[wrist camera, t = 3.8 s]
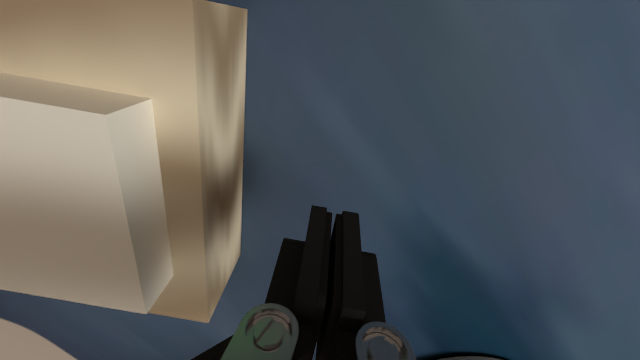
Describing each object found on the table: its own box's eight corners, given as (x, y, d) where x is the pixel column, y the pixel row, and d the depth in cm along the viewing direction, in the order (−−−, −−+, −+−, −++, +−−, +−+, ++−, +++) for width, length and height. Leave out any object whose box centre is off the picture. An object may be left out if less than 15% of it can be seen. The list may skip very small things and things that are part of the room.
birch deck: (240, 254, 19) (208, 322, 14) (44, 220, 19) (-48, 279, 14) (247, 9, 12) (192, -3, 8) (-55, -44, 12) (-283, -86, 8)
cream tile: (173, 275, 13) (146, 314, 11) (20, 249, 13) (-31, 284, 11) (151, 98, 9) (105, 115, 7) (-65, 60, 9) (-162, 68, 7)
